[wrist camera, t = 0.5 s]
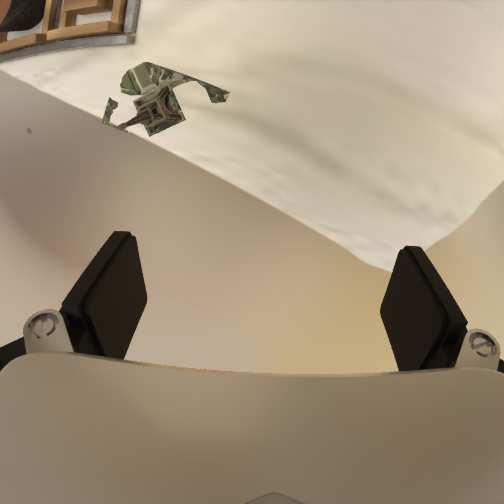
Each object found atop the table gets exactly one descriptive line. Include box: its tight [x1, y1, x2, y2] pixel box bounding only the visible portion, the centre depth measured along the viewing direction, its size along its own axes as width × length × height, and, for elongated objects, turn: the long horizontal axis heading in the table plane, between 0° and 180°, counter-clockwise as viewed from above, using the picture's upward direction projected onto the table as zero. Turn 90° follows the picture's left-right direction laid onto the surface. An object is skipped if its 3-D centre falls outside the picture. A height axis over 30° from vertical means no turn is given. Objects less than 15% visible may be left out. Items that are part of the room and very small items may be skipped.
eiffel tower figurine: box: [102, 62, 230, 139], centre depth 31 cm, size 15×10×13 cm
